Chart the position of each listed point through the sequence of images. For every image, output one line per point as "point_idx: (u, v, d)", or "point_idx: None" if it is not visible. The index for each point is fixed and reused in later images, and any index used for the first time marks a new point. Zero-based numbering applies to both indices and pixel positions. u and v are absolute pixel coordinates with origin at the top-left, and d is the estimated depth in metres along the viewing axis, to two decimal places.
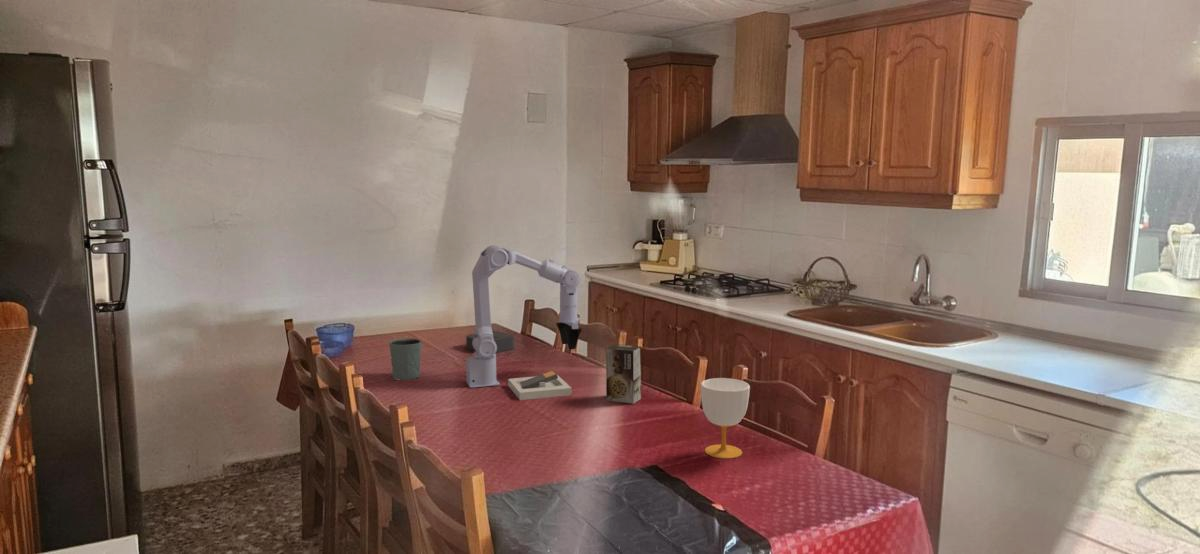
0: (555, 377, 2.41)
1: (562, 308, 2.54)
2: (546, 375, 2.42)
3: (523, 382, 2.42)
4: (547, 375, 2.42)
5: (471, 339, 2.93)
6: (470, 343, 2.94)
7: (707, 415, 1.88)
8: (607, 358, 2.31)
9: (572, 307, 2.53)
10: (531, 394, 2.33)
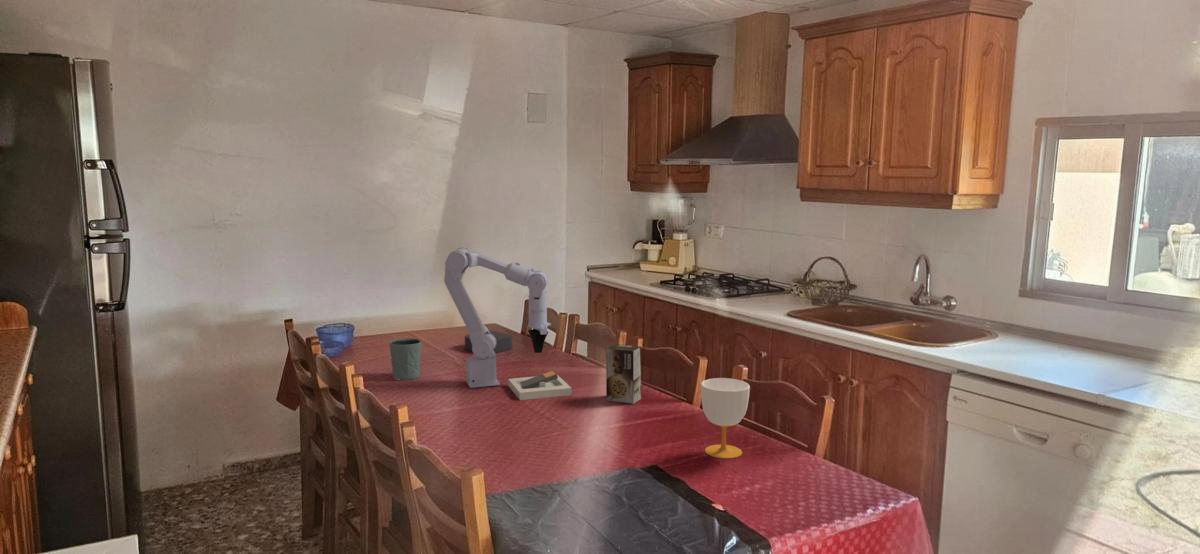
0: (555, 377, 2.41)
1: (531, 313, 2.44)
2: (546, 375, 2.42)
3: (523, 382, 2.42)
4: (547, 375, 2.42)
5: None
6: (468, 344, 2.94)
7: (707, 415, 1.88)
8: (607, 358, 2.31)
9: (541, 312, 2.44)
10: (531, 394, 2.33)
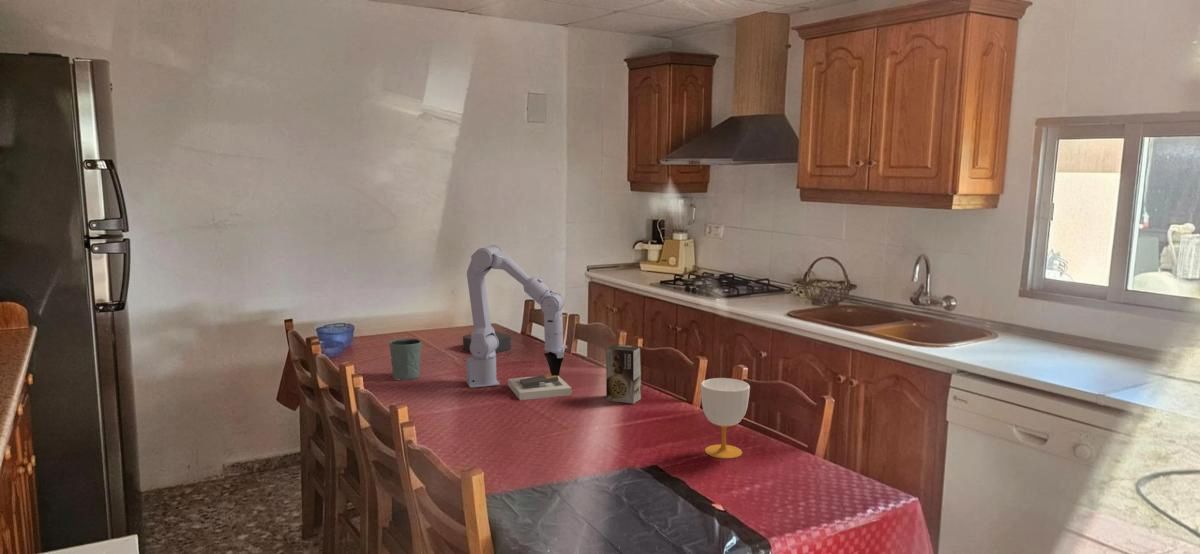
0: (556, 379, 2.41)
1: (547, 336, 2.40)
2: (547, 376, 2.43)
3: (523, 379, 2.42)
4: (548, 376, 2.42)
5: (468, 340, 2.92)
6: (467, 344, 2.93)
7: (707, 415, 1.88)
8: (607, 358, 2.31)
9: (557, 334, 2.39)
10: (531, 394, 2.33)
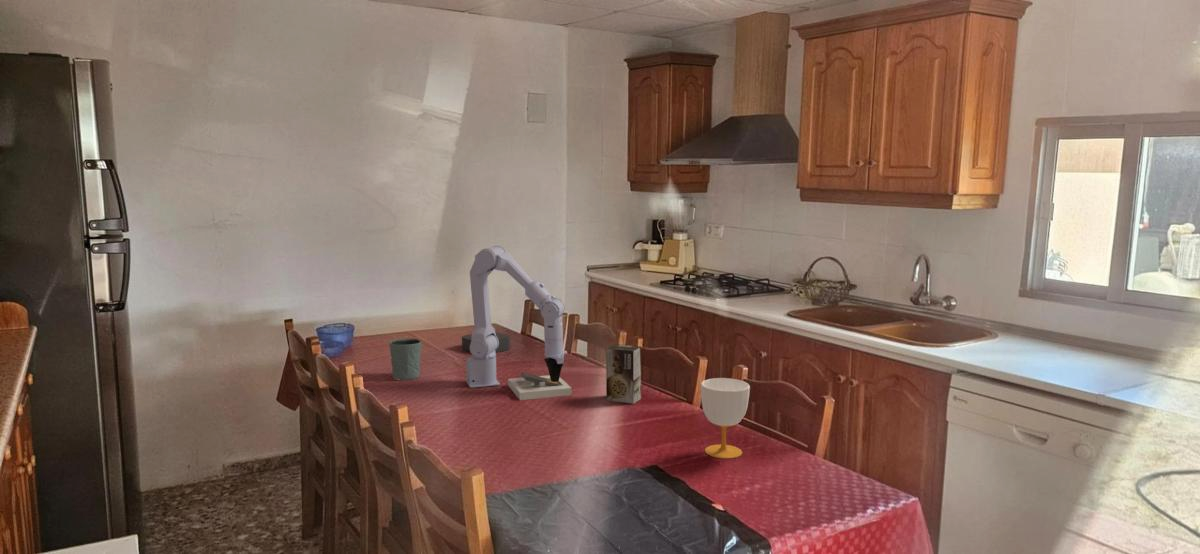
0: None
1: (547, 341, 2.40)
2: (548, 380, 2.43)
3: (525, 373, 2.42)
4: (549, 380, 2.43)
5: (467, 340, 2.92)
6: (466, 344, 2.93)
7: (707, 415, 1.88)
8: (607, 358, 2.31)
9: (557, 340, 2.39)
10: (531, 394, 2.33)
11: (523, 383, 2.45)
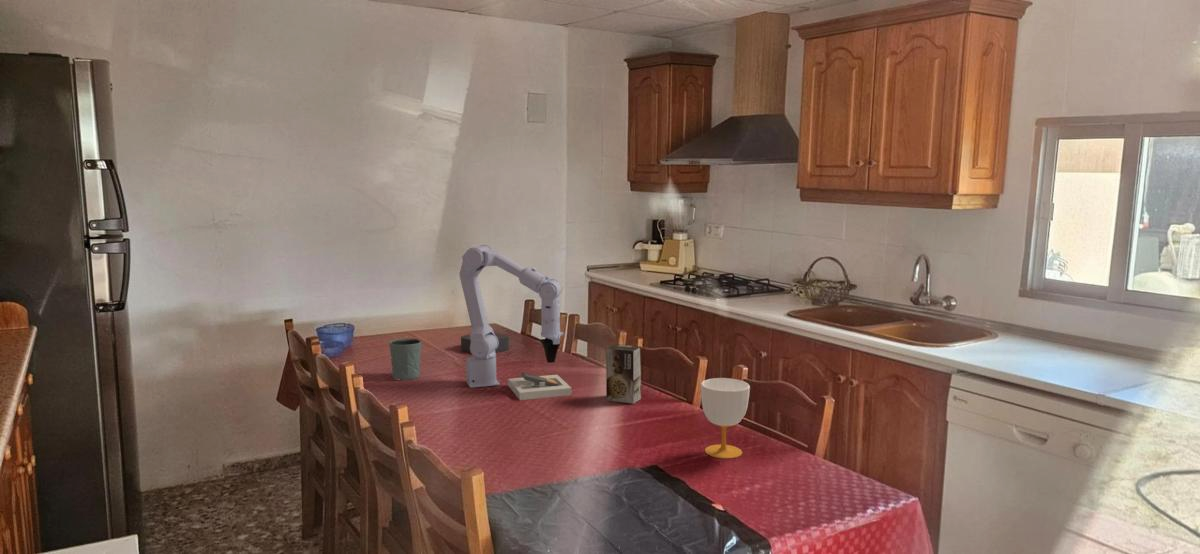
0: None
1: (543, 322, 2.40)
2: (548, 380, 2.43)
3: (525, 373, 2.42)
4: (549, 380, 2.43)
5: (466, 340, 2.92)
6: (465, 344, 2.93)
7: (707, 415, 1.88)
8: (607, 358, 2.31)
9: (554, 321, 2.39)
10: (531, 394, 2.33)
11: (523, 383, 2.45)
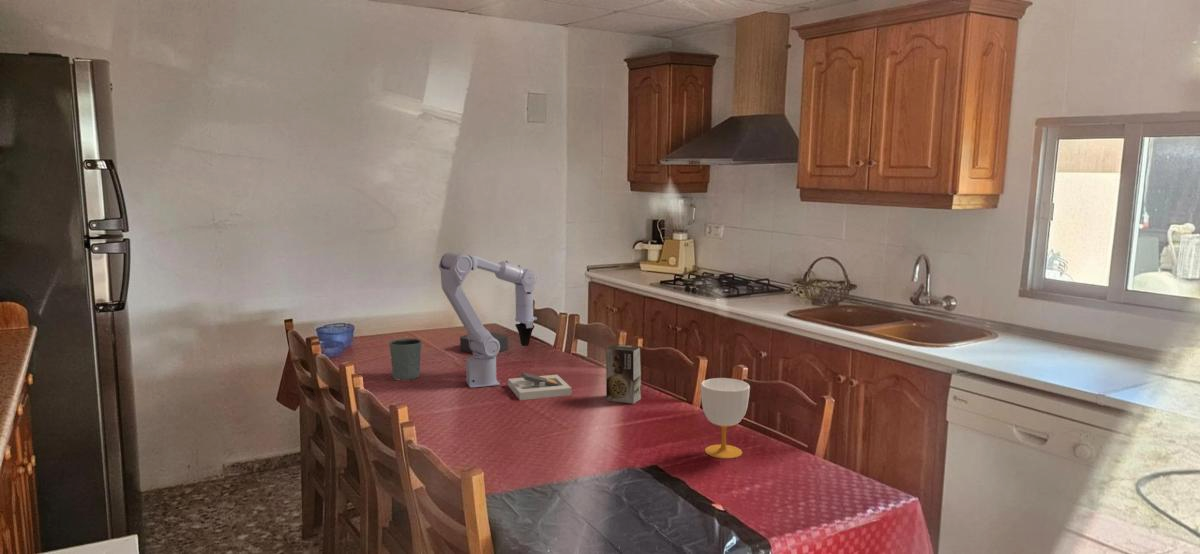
0: None
1: (517, 307, 2.54)
2: (548, 380, 2.43)
3: (525, 373, 2.42)
4: (549, 380, 2.43)
5: (465, 340, 2.92)
6: (464, 345, 2.92)
7: (707, 415, 1.88)
8: (607, 358, 2.31)
9: (527, 306, 2.54)
10: (531, 394, 2.33)
11: (523, 383, 2.45)
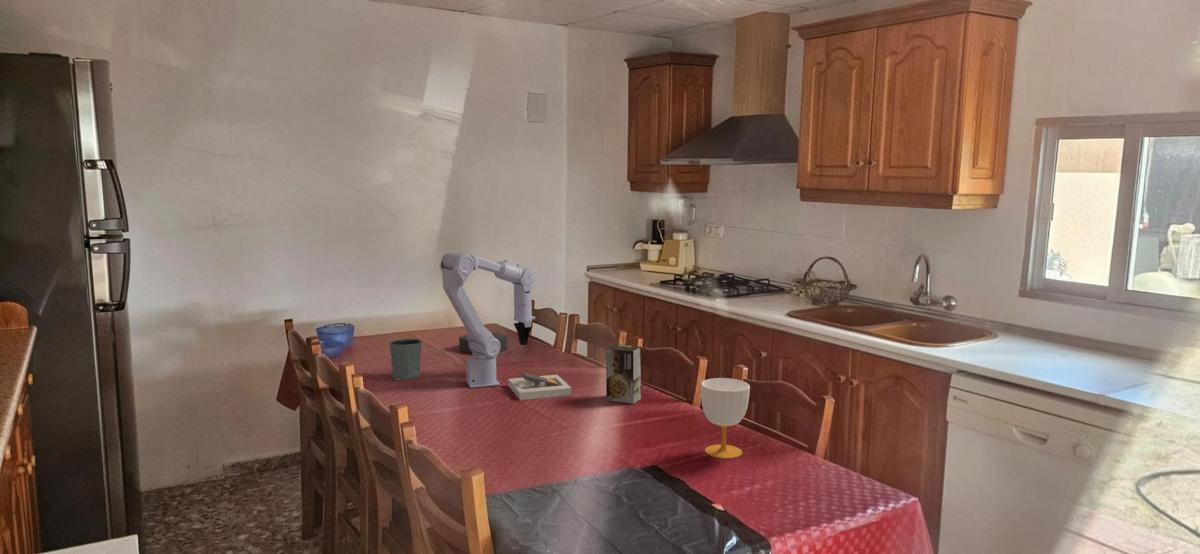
0: None
1: (516, 306, 2.55)
2: (548, 380, 2.43)
3: (525, 373, 2.42)
4: (549, 380, 2.43)
5: (465, 340, 2.91)
6: (463, 345, 2.92)
7: (707, 415, 1.88)
8: (607, 358, 2.31)
9: (526, 305, 2.54)
10: (531, 394, 2.33)
11: (523, 383, 2.45)
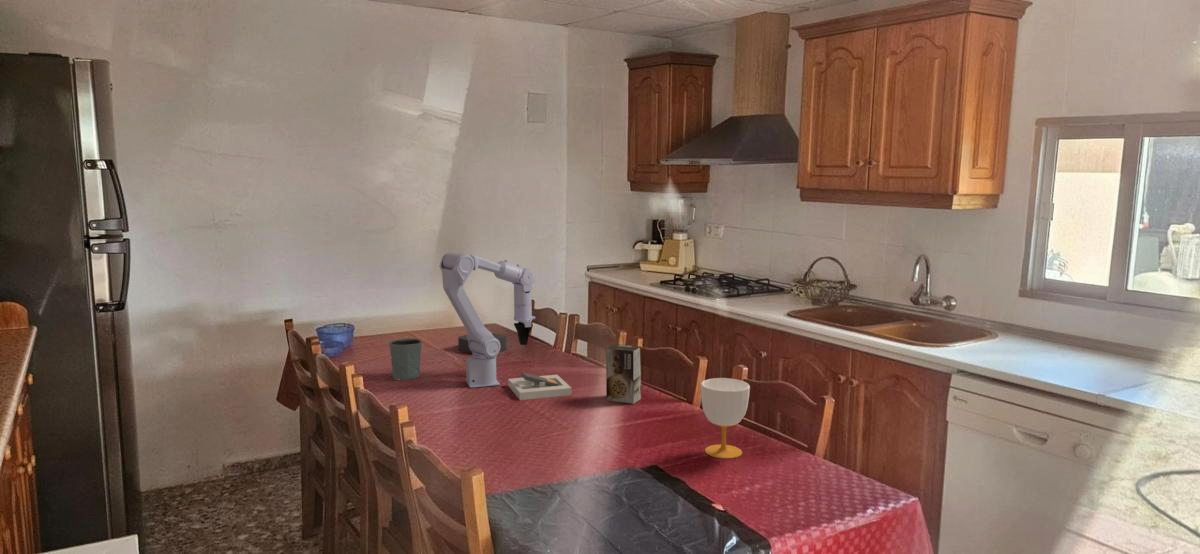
0: None
1: (516, 306, 2.55)
2: (548, 380, 2.43)
3: (525, 373, 2.42)
4: (549, 380, 2.43)
5: (464, 340, 2.91)
6: (463, 345, 2.92)
7: (707, 415, 1.88)
8: (607, 358, 2.31)
9: (526, 305, 2.54)
10: (531, 394, 2.33)
11: (523, 383, 2.45)
